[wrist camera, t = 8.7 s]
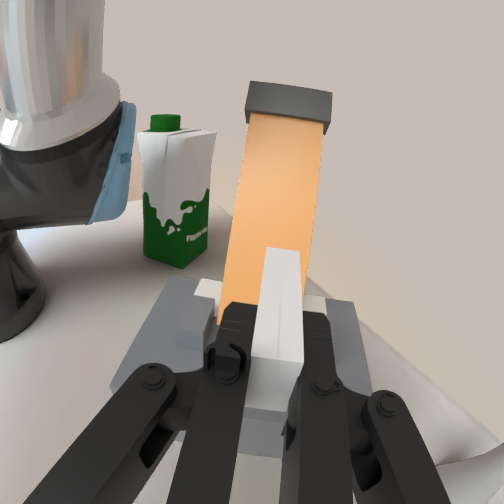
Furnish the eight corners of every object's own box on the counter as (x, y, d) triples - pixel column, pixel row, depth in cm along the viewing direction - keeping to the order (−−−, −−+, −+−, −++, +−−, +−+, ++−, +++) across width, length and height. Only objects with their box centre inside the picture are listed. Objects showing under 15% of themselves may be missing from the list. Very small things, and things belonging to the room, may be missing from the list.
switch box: (347, 460, 19) (390, 411, 15) (127, 425, 20) (102, 367, 16) (336, 344, 31) (359, 285, 28) (174, 319, 32) (171, 257, 28)
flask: (429, 456, 19) (497, 389, 14) (483, 477, 15) (555, 416, 10) (400, 521, 13) (484, 475, 9) (462, 541, 10) (552, 495, 5)
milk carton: (168, 234, 50) (171, 113, 40) (215, 248, 47) (225, 117, 38) (134, 256, 43) (130, 117, 33) (184, 275, 40) (189, 120, 30)
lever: (303, 339, 21) (332, 92, 22) (208, 324, 22) (250, 80, 23) (299, 332, 24) (327, 107, 25) (214, 319, 24) (251, 96, 25)
